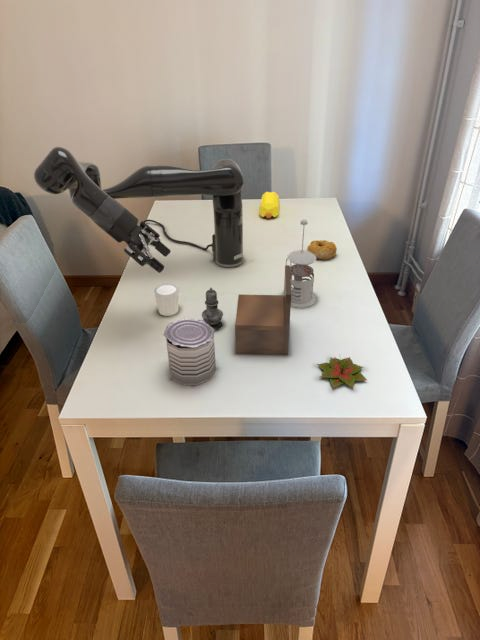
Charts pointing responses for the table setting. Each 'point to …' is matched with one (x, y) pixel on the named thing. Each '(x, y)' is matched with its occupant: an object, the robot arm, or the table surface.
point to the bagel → (322, 249)
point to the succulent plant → (341, 371)
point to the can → (190, 351)
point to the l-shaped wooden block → (264, 322)
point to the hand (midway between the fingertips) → (165, 261)
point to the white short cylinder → (167, 299)
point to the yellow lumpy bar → (269, 205)
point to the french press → (302, 289)
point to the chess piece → (212, 310)
